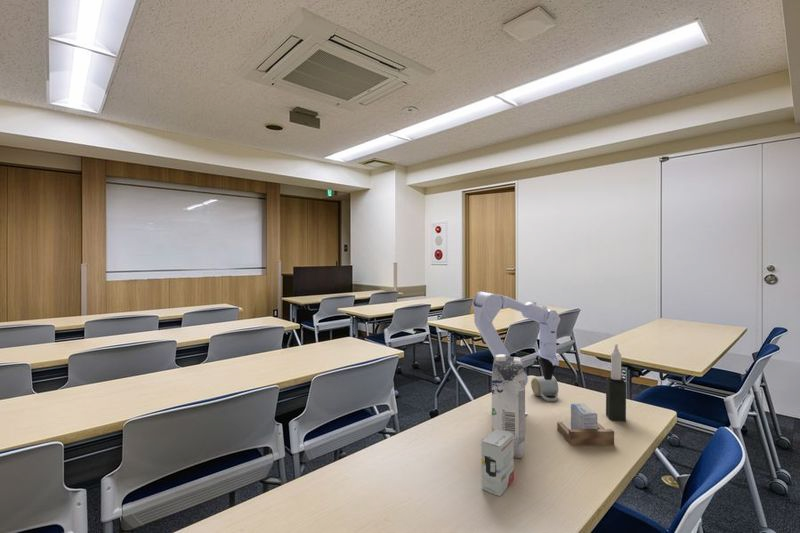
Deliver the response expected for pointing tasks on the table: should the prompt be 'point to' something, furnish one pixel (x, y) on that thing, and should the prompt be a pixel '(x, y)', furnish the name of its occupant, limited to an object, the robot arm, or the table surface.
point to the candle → (616, 390)
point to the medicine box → (583, 417)
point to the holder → (587, 435)
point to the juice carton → (509, 399)
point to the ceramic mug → (545, 388)
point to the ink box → (497, 461)
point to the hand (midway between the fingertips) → (547, 379)
